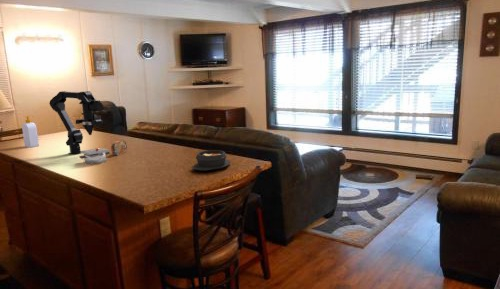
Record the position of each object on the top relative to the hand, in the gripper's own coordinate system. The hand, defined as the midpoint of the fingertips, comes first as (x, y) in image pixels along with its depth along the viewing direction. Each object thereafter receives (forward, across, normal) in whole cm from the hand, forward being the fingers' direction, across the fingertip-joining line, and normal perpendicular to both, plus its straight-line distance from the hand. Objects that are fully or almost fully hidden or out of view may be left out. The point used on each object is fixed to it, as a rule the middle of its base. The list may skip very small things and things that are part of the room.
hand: (90, 135), depth 245 cm
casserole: (+14, -93, 0) cm, 94 cm away
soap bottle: (+13, +69, -4) cm, 70 cm away
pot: (+13, -19, +14) cm, 27 cm away
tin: (+13, -16, -8) cm, 22 cm away
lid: (+7, -19, +14) cm, 25 cm away
